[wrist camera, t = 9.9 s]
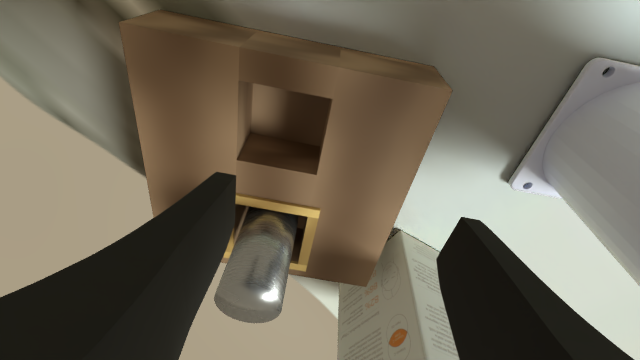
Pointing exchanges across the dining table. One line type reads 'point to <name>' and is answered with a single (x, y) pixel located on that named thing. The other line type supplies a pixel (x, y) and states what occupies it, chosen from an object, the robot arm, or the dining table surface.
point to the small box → (396, 308)
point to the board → (283, 131)
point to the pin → (258, 267)
